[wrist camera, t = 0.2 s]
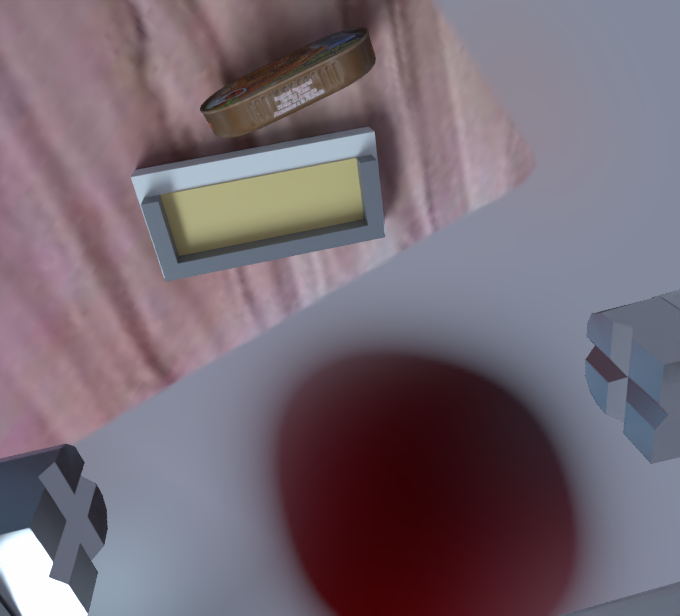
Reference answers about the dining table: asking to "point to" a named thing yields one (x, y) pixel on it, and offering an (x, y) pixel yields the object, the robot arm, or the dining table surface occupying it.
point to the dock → (262, 202)
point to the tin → (290, 83)
